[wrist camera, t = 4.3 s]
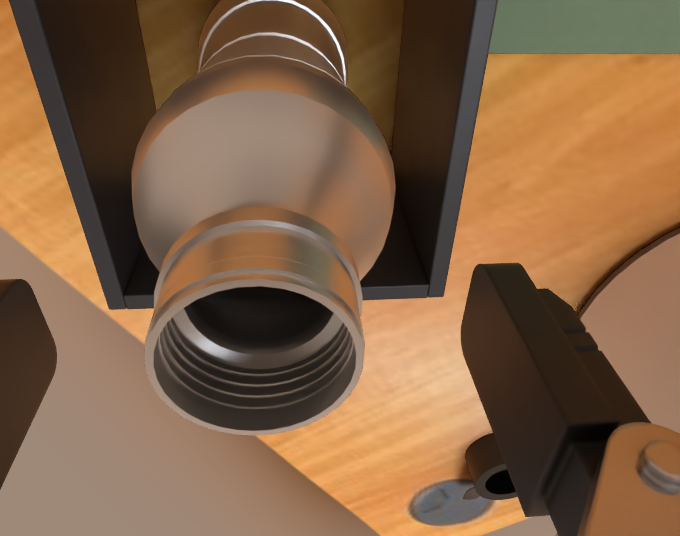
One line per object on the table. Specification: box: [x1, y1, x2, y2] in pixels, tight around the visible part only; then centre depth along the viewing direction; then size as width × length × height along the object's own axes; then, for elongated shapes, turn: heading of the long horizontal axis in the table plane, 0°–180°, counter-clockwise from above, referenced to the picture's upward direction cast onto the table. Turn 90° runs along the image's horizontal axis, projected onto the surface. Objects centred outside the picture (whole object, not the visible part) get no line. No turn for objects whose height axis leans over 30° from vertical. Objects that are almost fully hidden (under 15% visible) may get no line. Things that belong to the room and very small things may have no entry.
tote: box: [9, 0, 498, 310], centre depth 20 cm, size 14×13×10 cm
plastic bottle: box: [132, 0, 396, 435], centre depth 16 cm, size 6×7×20 cm
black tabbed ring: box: [463, 433, 518, 500], centre depth 45 cm, size 8×10×3 cm
